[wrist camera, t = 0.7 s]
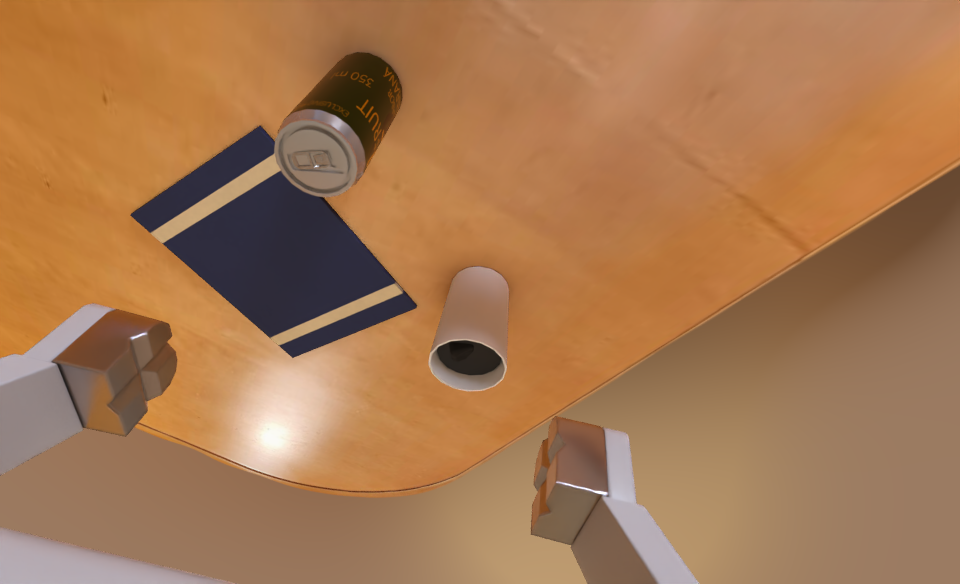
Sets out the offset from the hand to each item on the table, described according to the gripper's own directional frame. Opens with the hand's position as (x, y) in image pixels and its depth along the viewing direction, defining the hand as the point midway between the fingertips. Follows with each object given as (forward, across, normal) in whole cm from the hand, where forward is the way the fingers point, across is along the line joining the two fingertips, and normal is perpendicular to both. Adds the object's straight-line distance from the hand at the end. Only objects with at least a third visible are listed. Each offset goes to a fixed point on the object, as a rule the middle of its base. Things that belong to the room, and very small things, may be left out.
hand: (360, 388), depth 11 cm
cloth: (+34, +18, +24) cm, 45 cm away
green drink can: (+33, +10, +5) cm, 35 cm away
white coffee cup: (+35, -2, +22) cm, 41 cm away
